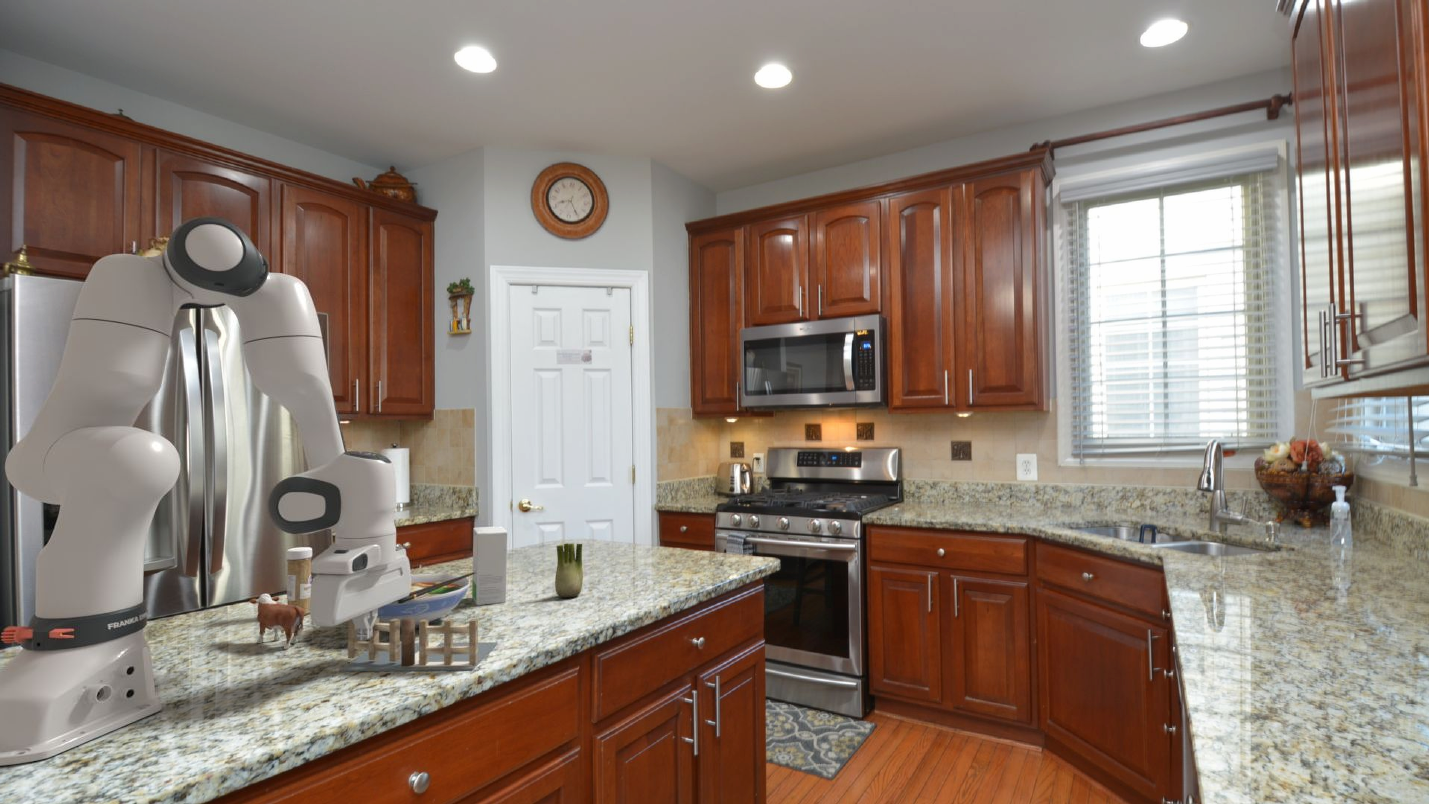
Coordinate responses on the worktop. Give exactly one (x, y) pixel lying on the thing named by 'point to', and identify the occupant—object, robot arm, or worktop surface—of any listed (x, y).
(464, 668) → the card
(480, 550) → the skincare box
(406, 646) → the corner post
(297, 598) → the spice jar
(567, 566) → the fennel bulb
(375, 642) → the gate panel
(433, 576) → the ramen bowl
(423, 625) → the fixed fence panel
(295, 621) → the bull figurine
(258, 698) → the worktop surface
